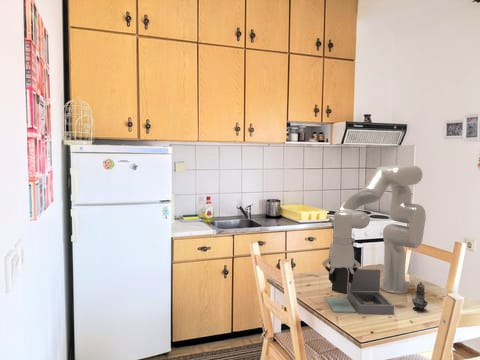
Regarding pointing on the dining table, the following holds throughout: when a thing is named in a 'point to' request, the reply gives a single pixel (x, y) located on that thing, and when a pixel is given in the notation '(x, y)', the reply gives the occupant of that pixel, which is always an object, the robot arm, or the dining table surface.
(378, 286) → the case
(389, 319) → the dining table surface
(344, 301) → the rubber mat
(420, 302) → the dark grey upright piece
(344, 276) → the battery charger
